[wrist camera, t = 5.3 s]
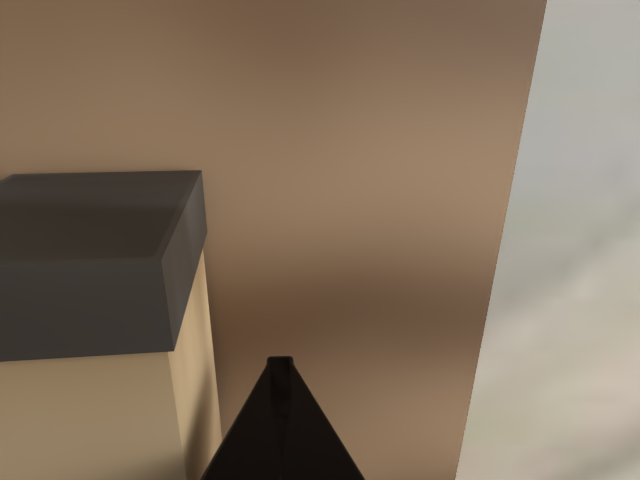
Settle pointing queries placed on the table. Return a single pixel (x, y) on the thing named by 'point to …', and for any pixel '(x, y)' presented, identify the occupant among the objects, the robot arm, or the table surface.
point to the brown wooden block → (306, 181)
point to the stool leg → (105, 328)
